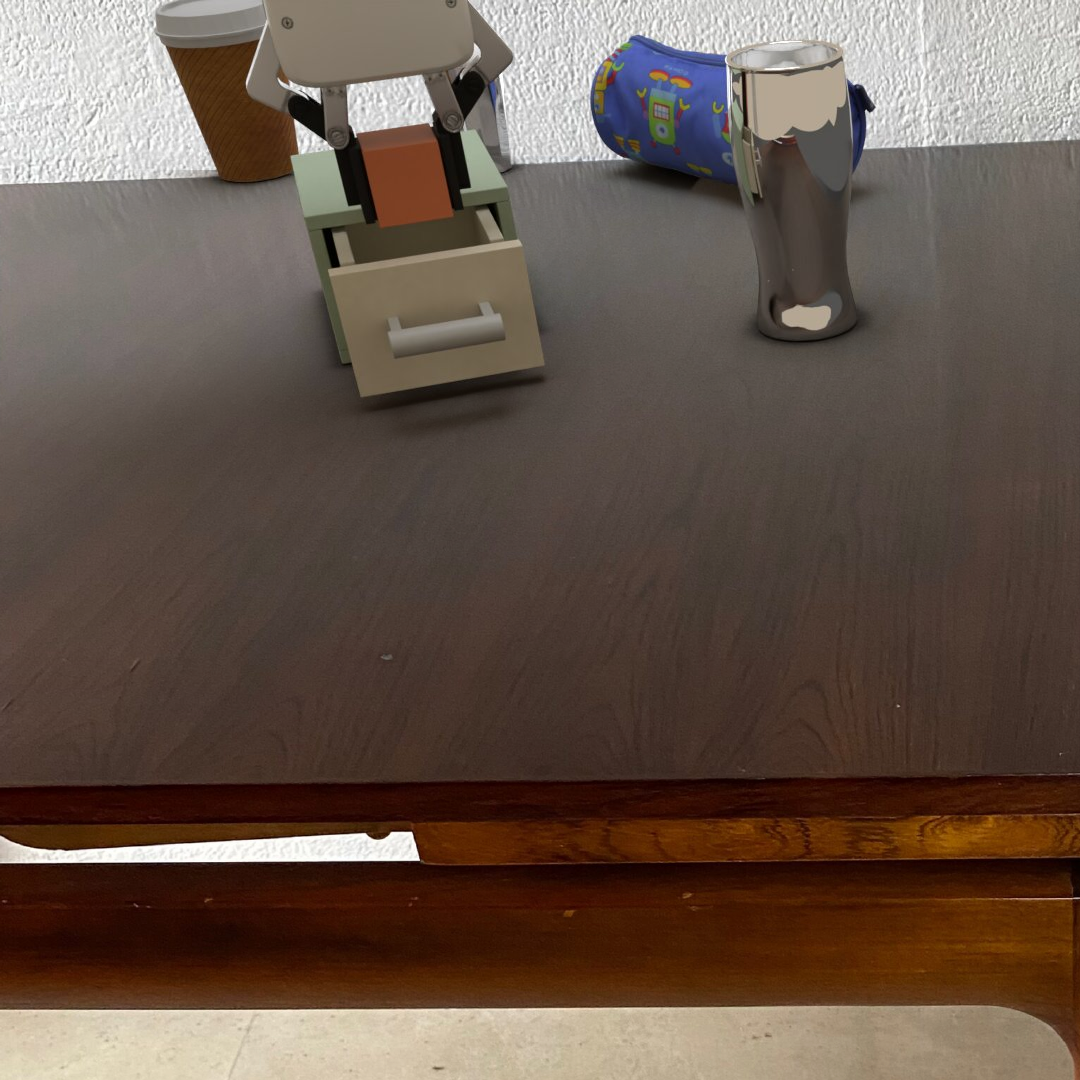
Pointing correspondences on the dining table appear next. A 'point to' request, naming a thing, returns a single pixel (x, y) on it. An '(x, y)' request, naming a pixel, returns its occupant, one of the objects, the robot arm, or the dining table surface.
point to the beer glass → (795, 181)
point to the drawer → (433, 302)
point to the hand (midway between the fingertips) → (411, 206)
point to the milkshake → (489, 118)
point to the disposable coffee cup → (227, 85)
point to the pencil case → (679, 109)
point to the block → (405, 175)
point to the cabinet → (330, 209)
